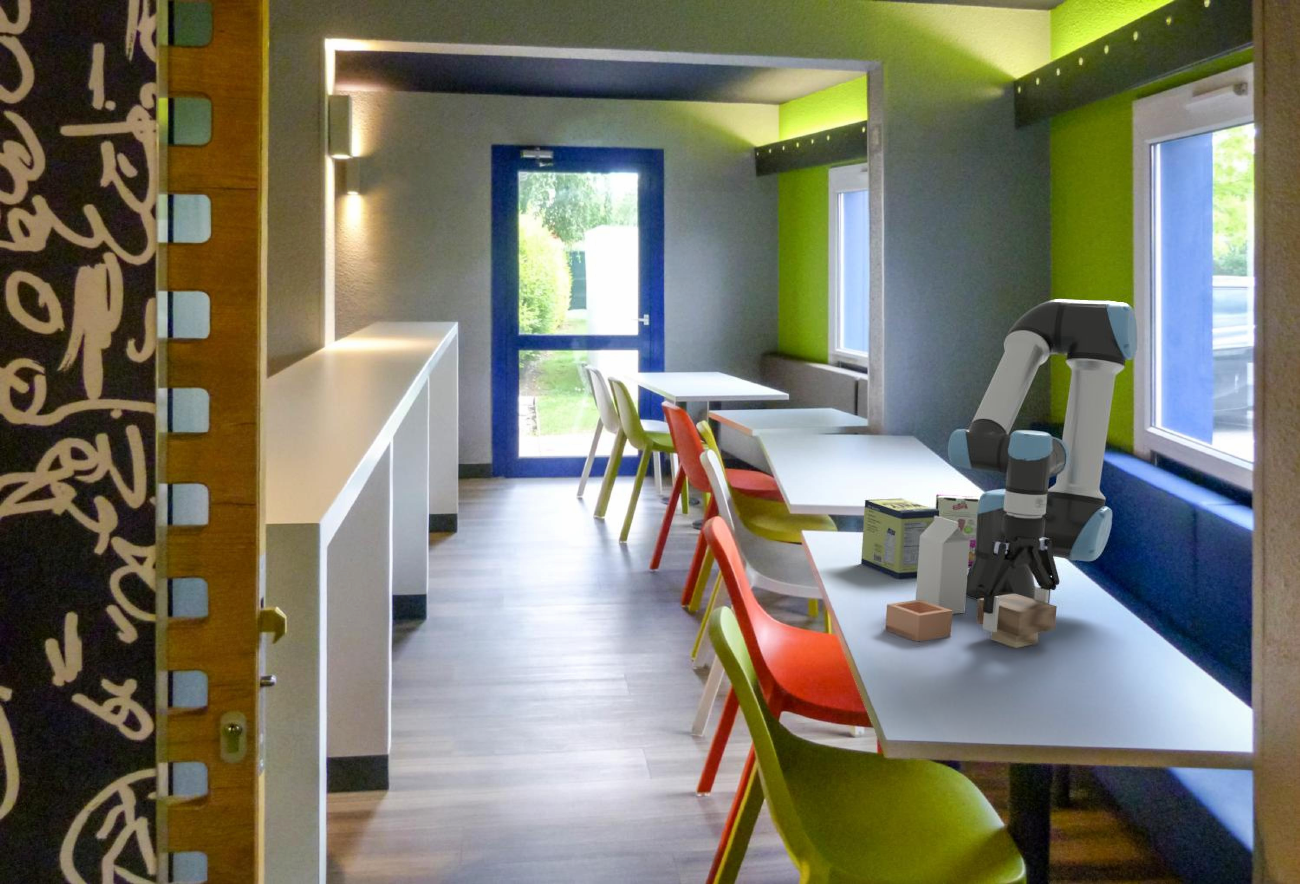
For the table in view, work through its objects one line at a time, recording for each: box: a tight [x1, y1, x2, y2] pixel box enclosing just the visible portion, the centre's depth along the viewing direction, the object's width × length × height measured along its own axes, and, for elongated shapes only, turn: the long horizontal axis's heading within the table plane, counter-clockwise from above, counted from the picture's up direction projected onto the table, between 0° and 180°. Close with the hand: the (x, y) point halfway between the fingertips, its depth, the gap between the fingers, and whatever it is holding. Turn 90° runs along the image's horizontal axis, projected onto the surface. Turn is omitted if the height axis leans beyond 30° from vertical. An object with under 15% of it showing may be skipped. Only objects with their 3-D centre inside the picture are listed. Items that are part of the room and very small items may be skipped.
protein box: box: [860, 498, 939, 580], centre depth 283 cm, size 10×16×16 cm
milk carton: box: [915, 516, 970, 615], centre depth 249 cm, size 7×7×19 cm
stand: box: [990, 629, 1039, 649], centre depth 230 cm, size 6×6×3 cm
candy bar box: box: [935, 493, 980, 568], centre depth 292 cm, size 11×5×16 cm, turn 80°
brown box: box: [975, 593, 1058, 636], centre depth 230 cm, size 10×10×4 cm
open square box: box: [884, 599, 953, 643], centre depth 233 cm, size 9×9×5 cm
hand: (1014, 626), depth 230 cm, fingers open, 13 cm apart
